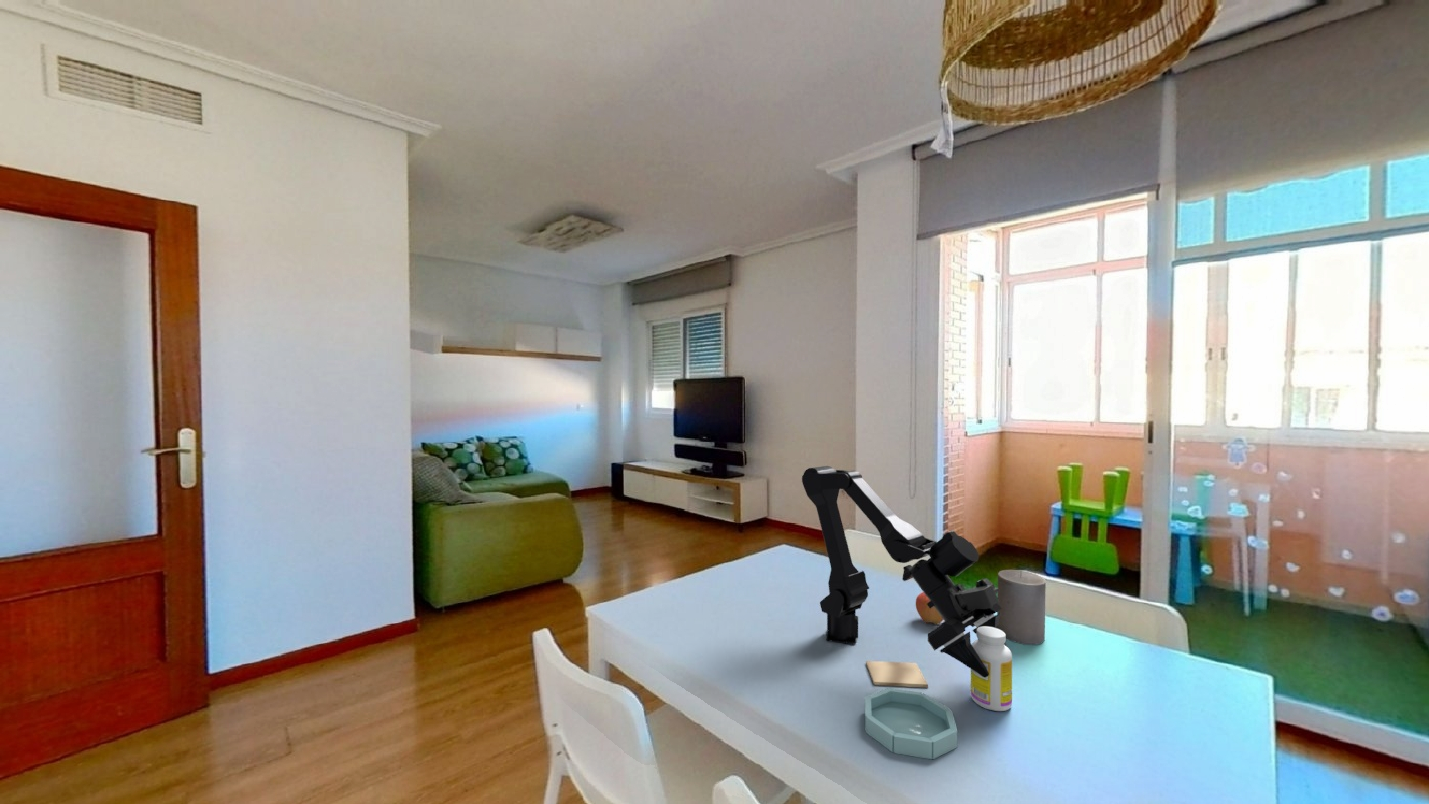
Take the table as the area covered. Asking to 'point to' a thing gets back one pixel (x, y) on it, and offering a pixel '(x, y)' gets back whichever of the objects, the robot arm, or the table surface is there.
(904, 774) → the table surface
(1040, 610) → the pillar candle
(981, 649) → the supplement bottle
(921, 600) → the apple
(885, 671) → the cork mat
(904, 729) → the bowl
